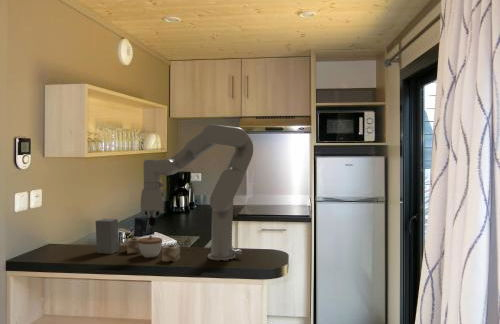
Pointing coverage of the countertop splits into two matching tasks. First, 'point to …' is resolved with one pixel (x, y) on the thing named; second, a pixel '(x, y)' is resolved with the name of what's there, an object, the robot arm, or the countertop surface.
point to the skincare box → (107, 236)
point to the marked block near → (170, 253)
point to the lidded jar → (150, 246)
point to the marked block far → (133, 245)
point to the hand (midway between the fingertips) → (152, 225)
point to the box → (143, 227)
